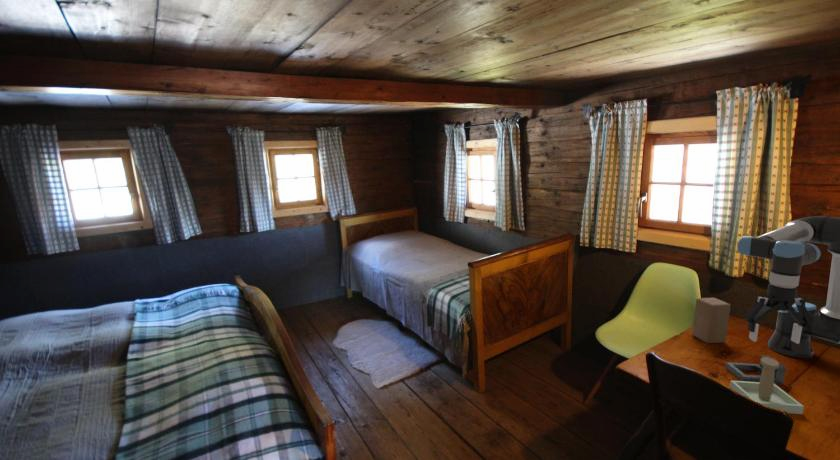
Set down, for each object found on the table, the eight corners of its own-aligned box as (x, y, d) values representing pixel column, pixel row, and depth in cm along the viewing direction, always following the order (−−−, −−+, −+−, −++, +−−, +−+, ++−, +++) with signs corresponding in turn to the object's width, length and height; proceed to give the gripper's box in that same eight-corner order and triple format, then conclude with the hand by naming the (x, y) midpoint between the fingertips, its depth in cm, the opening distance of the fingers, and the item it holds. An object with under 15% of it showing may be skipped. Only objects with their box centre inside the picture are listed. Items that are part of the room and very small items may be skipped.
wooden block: (690, 334, 193) (695, 297, 189) (709, 333, 194) (714, 296, 190) (707, 344, 183) (712, 305, 179) (726, 343, 184) (732, 304, 180)
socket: (764, 369, 160) (767, 354, 159) (785, 385, 150) (788, 368, 149) (725, 367, 163) (727, 352, 161) (742, 382, 152) (745, 366, 151)
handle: (755, 400, 140) (761, 363, 137) (755, 391, 145) (760, 355, 142) (773, 405, 137) (779, 367, 134) (772, 396, 142) (778, 359, 139)
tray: (772, 390, 147) (773, 383, 146) (802, 414, 133) (803, 406, 132) (729, 387, 149) (730, 380, 148) (754, 410, 135) (755, 402, 135)
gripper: (814, 282, 135) (804, 337, 139) (736, 280, 138) (728, 334, 142) (833, 289, 127) (822, 347, 131) (750, 287, 131) (742, 344, 135)
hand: (773, 341), depth 137 cm, fingers open, 13 cm apart
